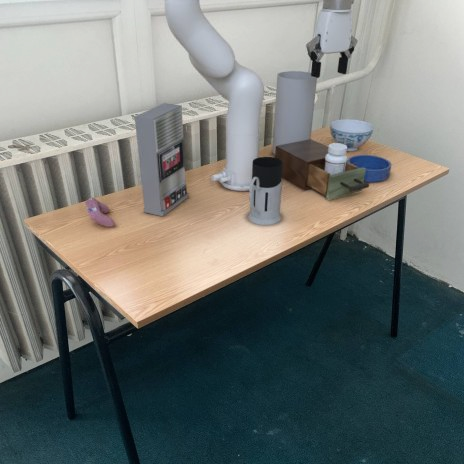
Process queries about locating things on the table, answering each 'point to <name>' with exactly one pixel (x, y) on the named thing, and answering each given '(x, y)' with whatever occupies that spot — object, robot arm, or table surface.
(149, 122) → the cassette tape recorder
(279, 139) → the cylinder vase
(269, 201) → the glass holder
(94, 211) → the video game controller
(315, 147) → the cabinet
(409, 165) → the table surface
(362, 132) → the chinaware
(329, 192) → the drawer
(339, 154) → the pill bottle
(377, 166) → the bowl
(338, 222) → the table surface
